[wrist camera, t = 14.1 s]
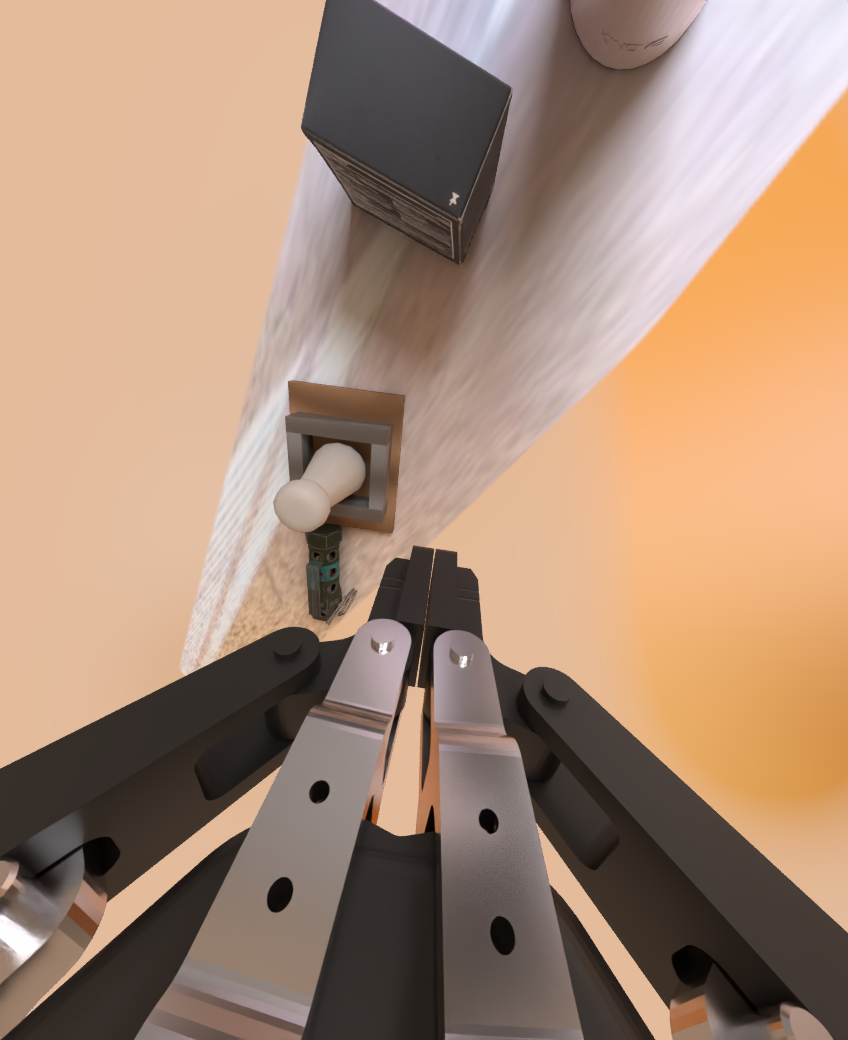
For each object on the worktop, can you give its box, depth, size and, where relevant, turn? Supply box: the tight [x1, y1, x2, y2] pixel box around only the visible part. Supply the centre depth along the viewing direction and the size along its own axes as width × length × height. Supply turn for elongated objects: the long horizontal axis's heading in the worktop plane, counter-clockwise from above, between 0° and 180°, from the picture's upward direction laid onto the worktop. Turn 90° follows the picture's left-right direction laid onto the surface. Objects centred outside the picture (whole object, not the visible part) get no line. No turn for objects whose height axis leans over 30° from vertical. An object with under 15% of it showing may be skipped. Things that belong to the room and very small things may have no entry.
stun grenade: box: [305, 523, 357, 625], centre depth 43 cm, size 6×6×14 cm
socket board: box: [285, 380, 405, 533], centre depth 37 cm, size 16×12×4 cm
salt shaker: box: [273, 442, 366, 533], centre depth 32 cm, size 6×6×13 cm
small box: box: [301, 0, 512, 264], centre depth 23 cm, size 11×6×10 cm, turn 65°
